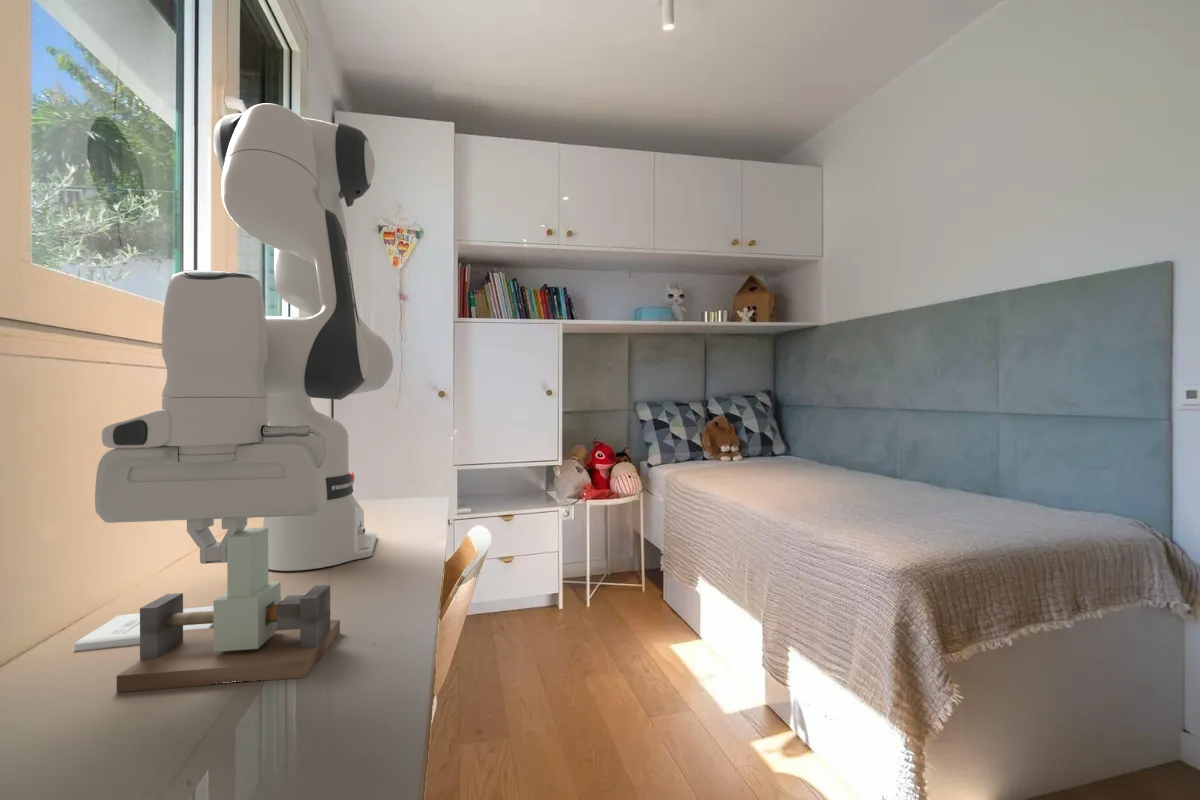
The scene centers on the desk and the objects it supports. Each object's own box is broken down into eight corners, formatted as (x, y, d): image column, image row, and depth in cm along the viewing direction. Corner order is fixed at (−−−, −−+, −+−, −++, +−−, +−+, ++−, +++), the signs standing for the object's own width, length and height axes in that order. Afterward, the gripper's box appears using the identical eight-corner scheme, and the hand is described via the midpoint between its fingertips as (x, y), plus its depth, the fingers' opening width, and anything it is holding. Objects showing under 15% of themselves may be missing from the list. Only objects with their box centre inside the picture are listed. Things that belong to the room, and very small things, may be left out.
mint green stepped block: (240, 630, 57) (240, 527, 57) (280, 627, 57) (280, 525, 58) (213, 651, 52) (213, 539, 52) (258, 648, 52) (257, 537, 53)
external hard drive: (208, 642, 60) (73, 656, 57) (237, 614, 68) (120, 625, 65) (208, 628, 60) (73, 641, 57) (237, 601, 68) (120, 612, 65)
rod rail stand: (185, 643, 58) (185, 584, 58) (339, 632, 61) (339, 575, 61) (116, 692, 48) (116, 620, 48) (304, 677, 51) (303, 609, 51)
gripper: (335, 424, 59) (336, 548, 59) (131, 427, 56) (131, 558, 56) (313, 426, 53) (314, 565, 53) (81, 429, 50) (82, 577, 50)
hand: (218, 561), depth 54 cm, fingers closed
